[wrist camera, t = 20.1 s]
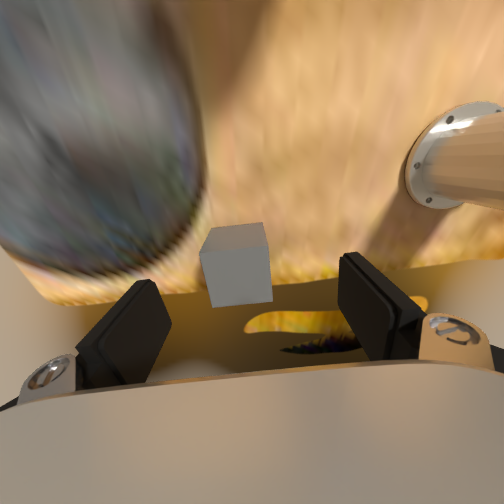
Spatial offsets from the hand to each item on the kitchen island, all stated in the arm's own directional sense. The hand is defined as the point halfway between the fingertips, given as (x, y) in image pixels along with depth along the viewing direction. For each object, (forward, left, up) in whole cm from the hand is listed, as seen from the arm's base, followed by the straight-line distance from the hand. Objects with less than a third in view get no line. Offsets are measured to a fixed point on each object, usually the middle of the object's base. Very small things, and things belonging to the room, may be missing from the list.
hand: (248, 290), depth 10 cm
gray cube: (+2, +7, -21) cm, 22 cm away
